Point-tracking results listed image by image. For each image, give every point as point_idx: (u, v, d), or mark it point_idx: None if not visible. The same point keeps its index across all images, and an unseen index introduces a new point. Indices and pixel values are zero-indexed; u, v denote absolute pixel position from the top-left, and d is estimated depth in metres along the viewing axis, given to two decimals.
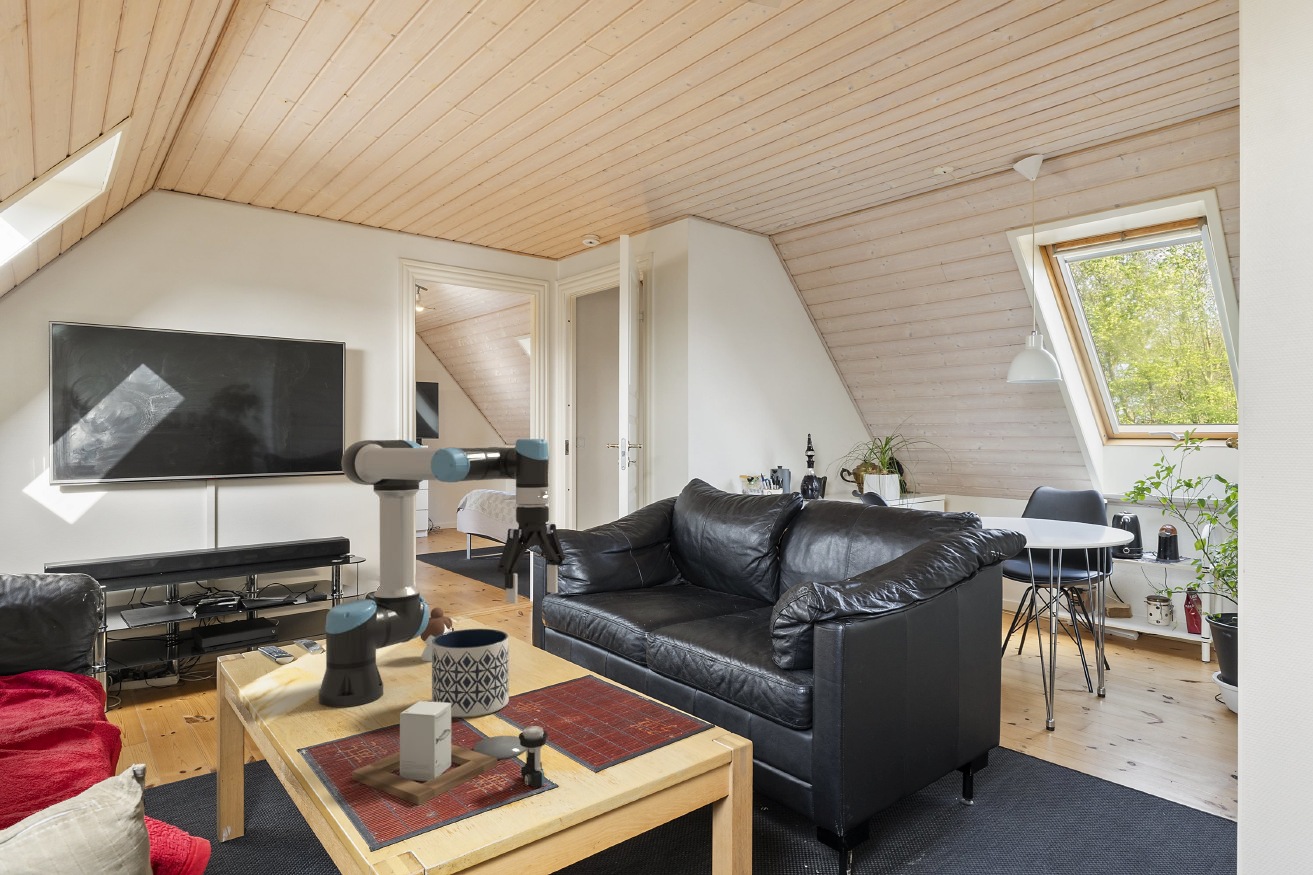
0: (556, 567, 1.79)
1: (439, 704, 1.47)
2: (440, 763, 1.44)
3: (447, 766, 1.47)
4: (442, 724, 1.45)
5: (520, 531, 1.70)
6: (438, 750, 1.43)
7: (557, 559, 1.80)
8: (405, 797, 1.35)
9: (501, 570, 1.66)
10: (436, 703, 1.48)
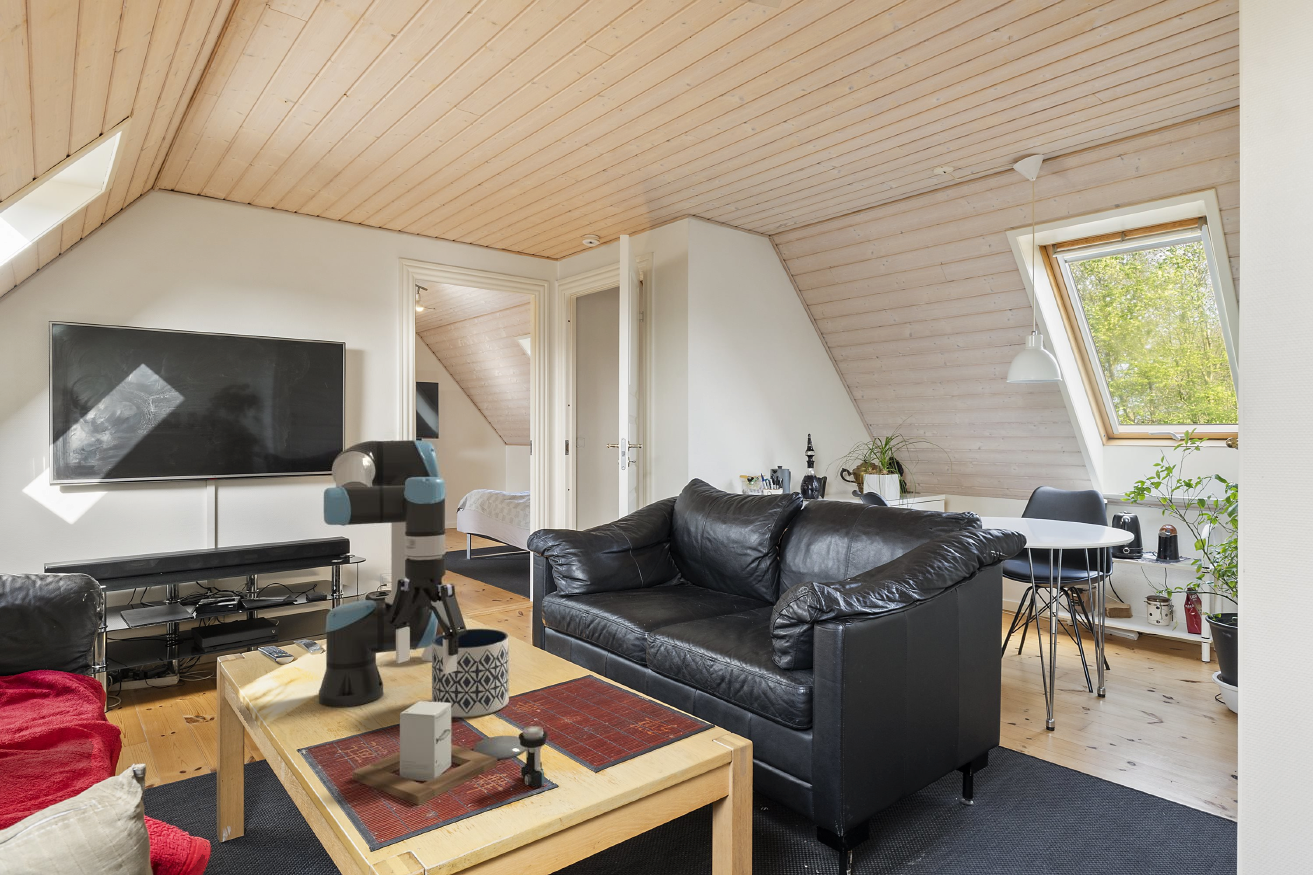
0: (444, 641, 1.41)
1: (439, 704, 1.47)
2: (440, 763, 1.44)
3: (447, 766, 1.47)
4: (442, 724, 1.45)
5: (408, 583, 1.48)
6: (438, 750, 1.43)
7: (446, 631, 1.41)
8: (405, 797, 1.35)
9: None
10: (436, 703, 1.48)
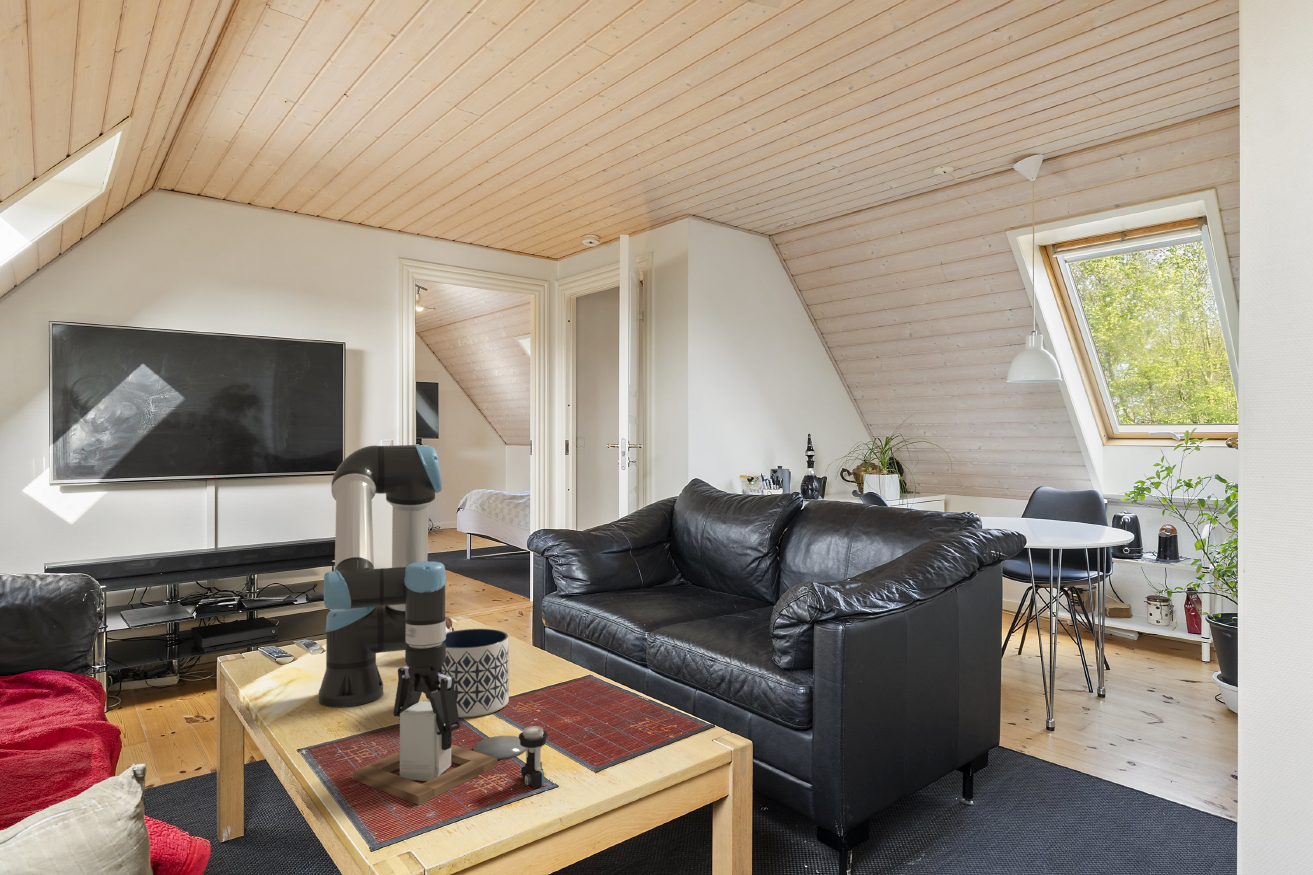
0: (437, 735, 1.42)
1: None
2: None
3: (447, 766, 1.47)
4: None
5: (408, 670, 1.48)
6: None
7: (440, 726, 1.42)
8: (405, 797, 1.35)
9: None
10: None
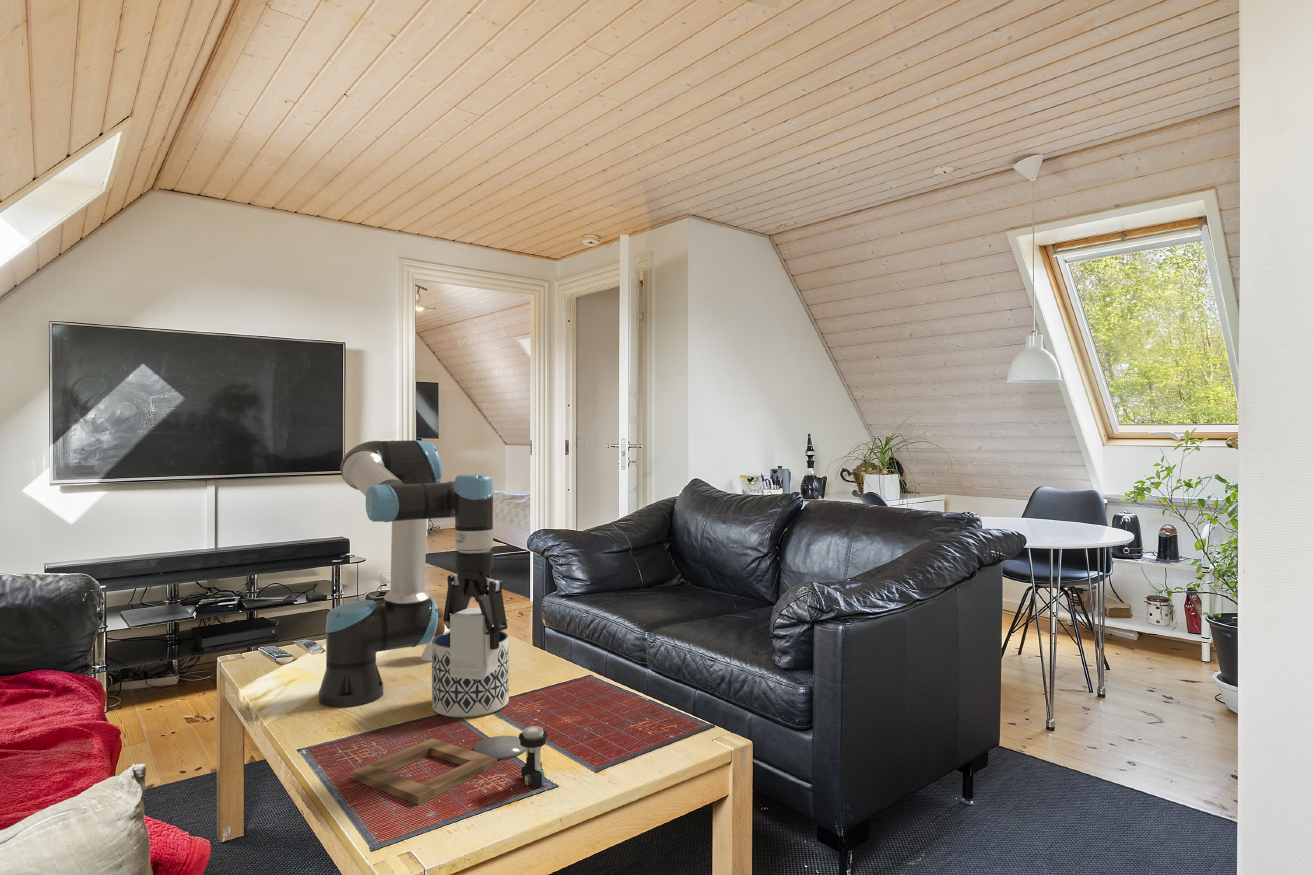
0: (485, 636, 1.49)
1: None
2: None
3: (494, 668, 1.54)
4: None
5: (457, 577, 1.55)
6: None
7: (489, 626, 1.49)
8: (405, 797, 1.35)
9: None
10: None
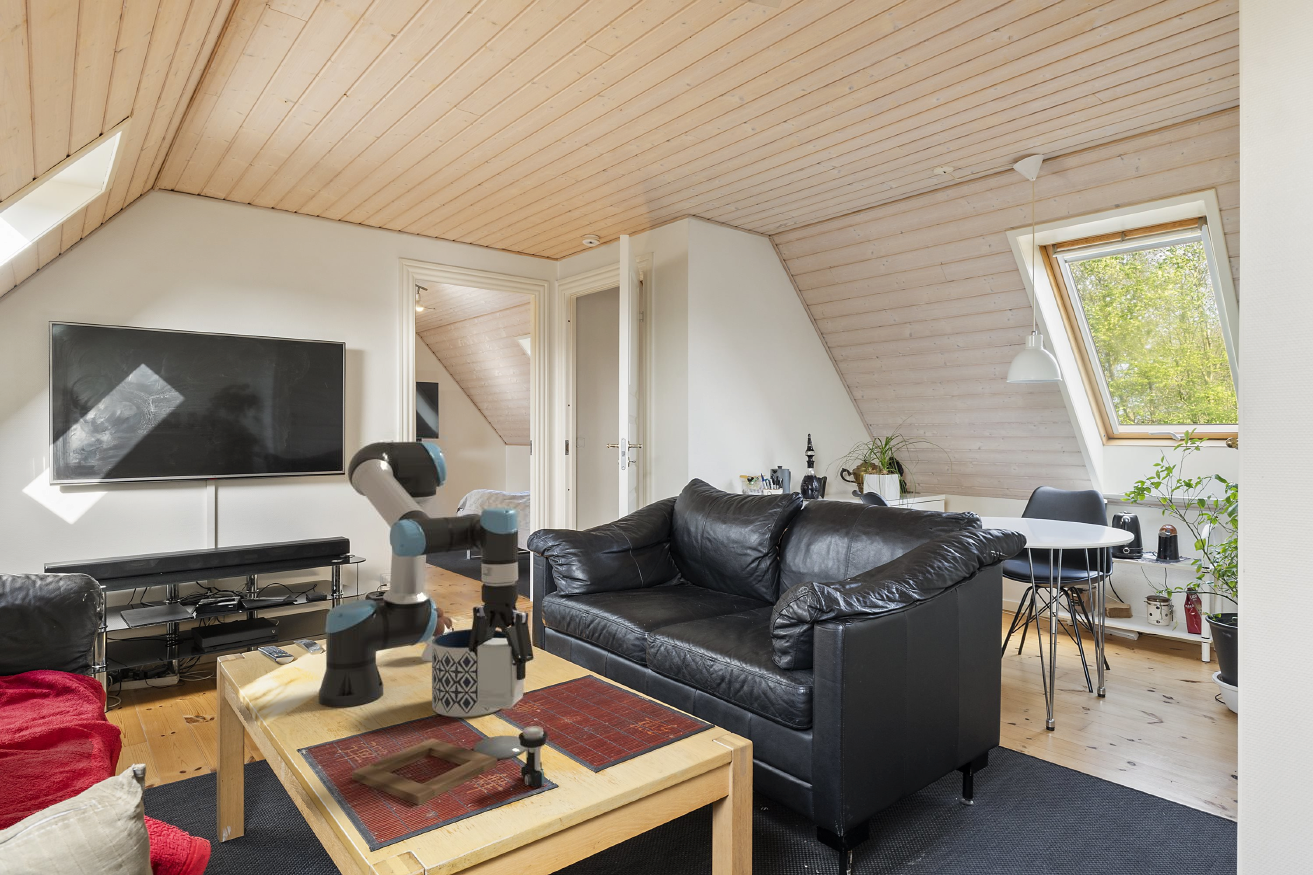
0: (512, 666, 1.53)
1: None
2: None
3: (519, 697, 1.58)
4: None
5: (483, 608, 1.59)
6: None
7: (515, 657, 1.53)
8: (405, 797, 1.35)
9: None
10: None
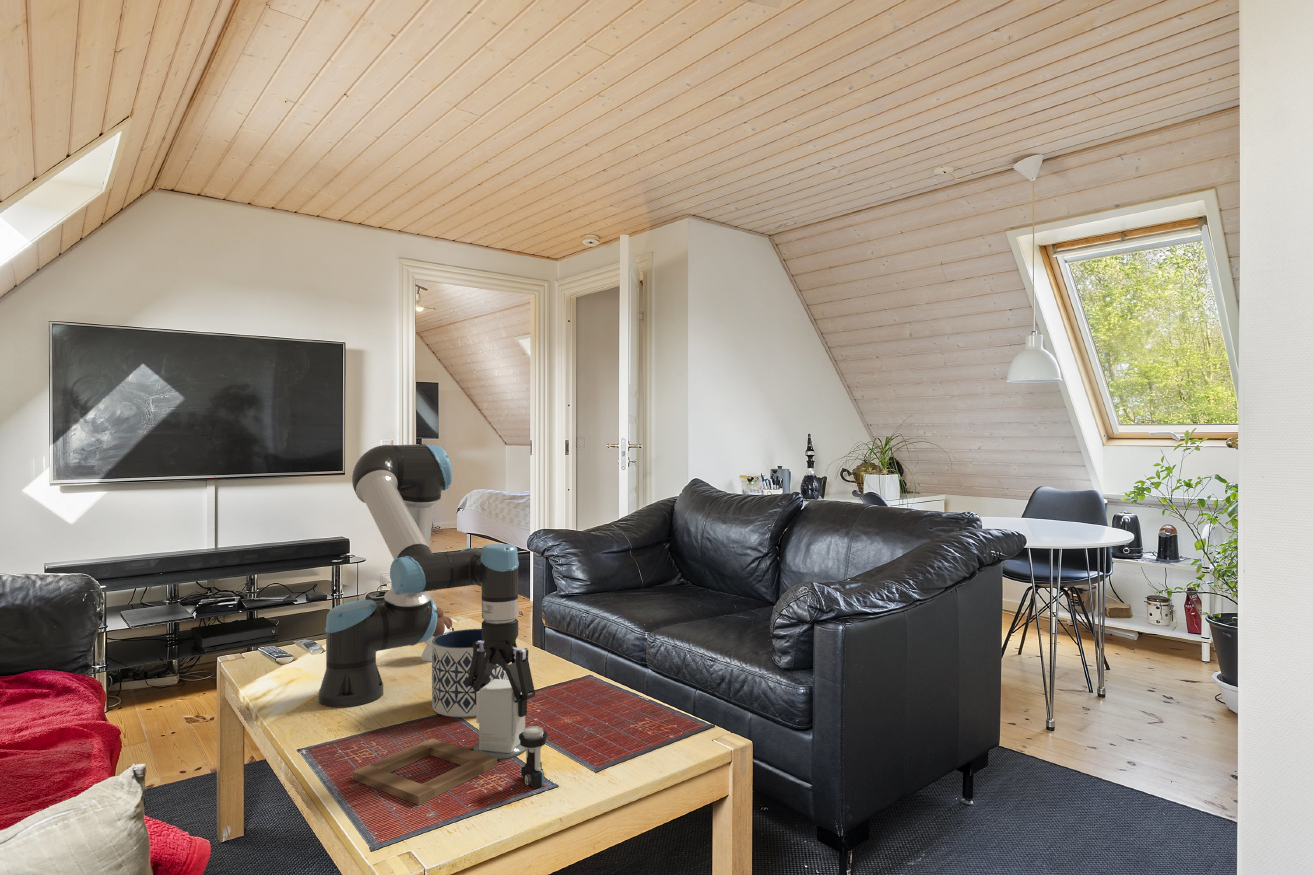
0: (514, 703, 1.53)
1: None
2: (516, 736, 1.55)
3: None
4: None
5: (483, 644, 1.59)
6: None
7: (517, 694, 1.53)
8: (405, 797, 1.35)
9: None
10: None
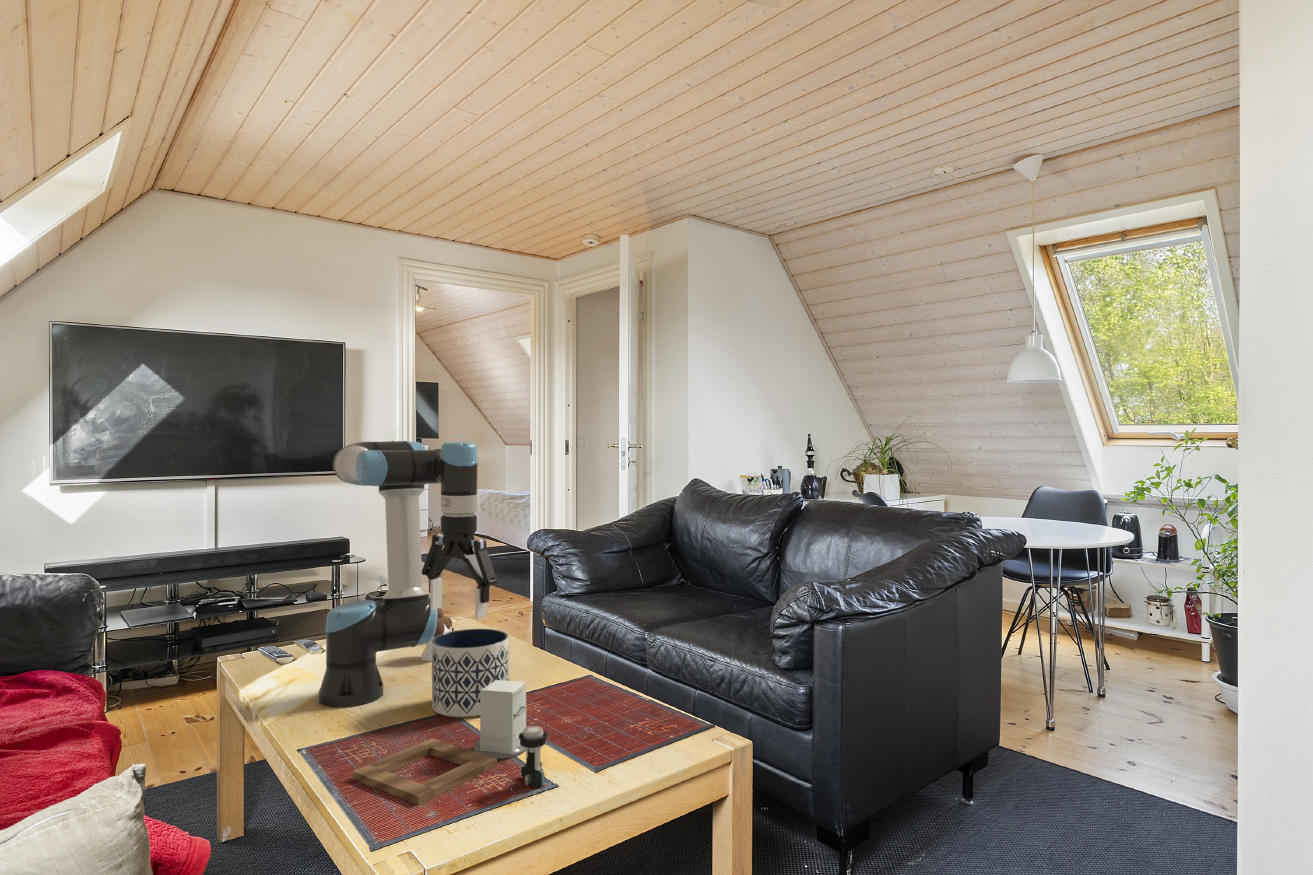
0: (476, 590, 1.57)
1: (515, 683, 1.58)
2: (517, 737, 1.55)
3: None
4: (519, 701, 1.56)
5: (442, 538, 1.63)
6: (515, 725, 1.54)
7: (479, 581, 1.57)
8: (405, 797, 1.35)
9: None
10: (512, 682, 1.59)
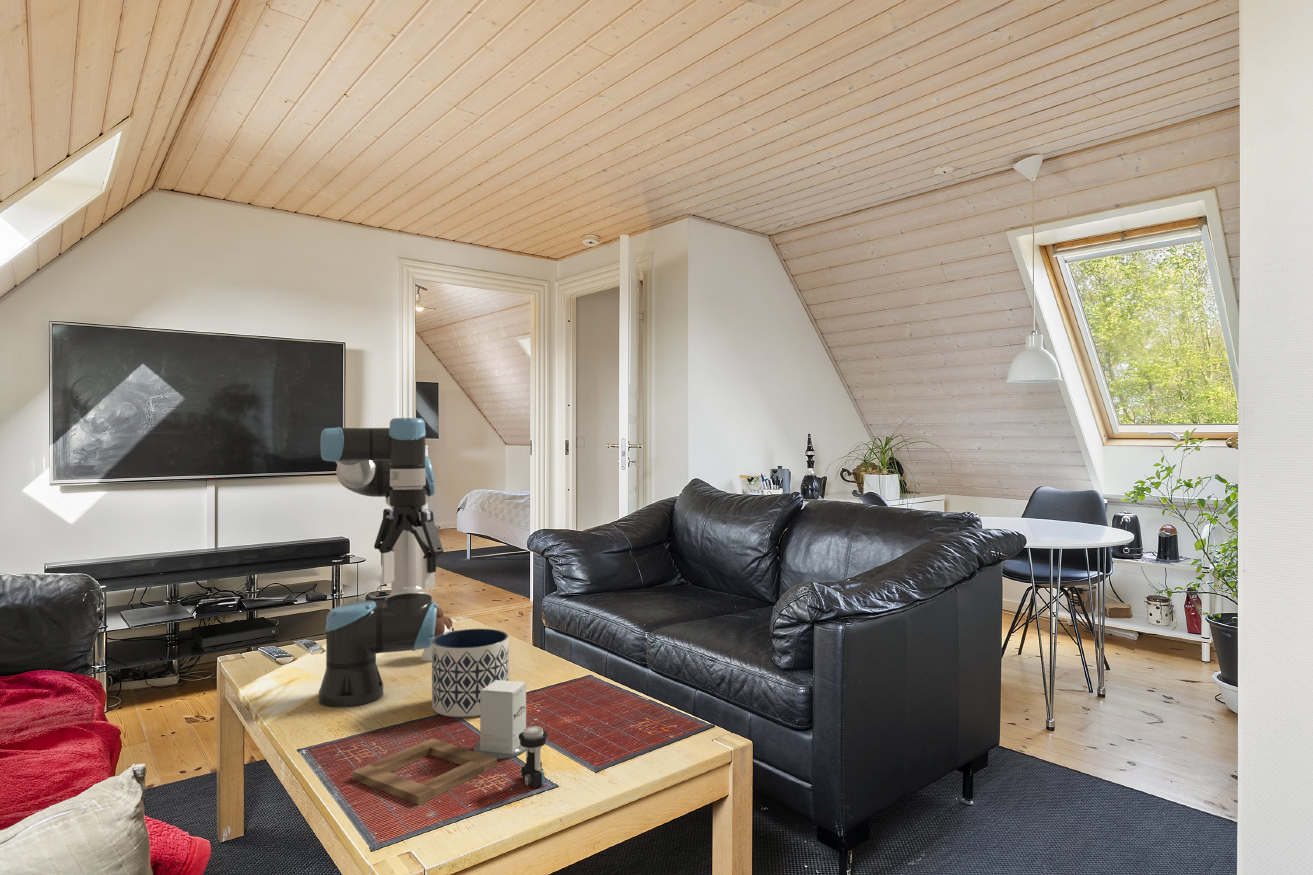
0: (423, 560, 1.61)
1: (515, 683, 1.58)
2: (517, 737, 1.55)
3: None
4: (519, 701, 1.56)
5: (392, 512, 1.68)
6: (515, 725, 1.54)
7: (425, 551, 1.61)
8: (405, 797, 1.35)
9: None
10: (512, 682, 1.59)
